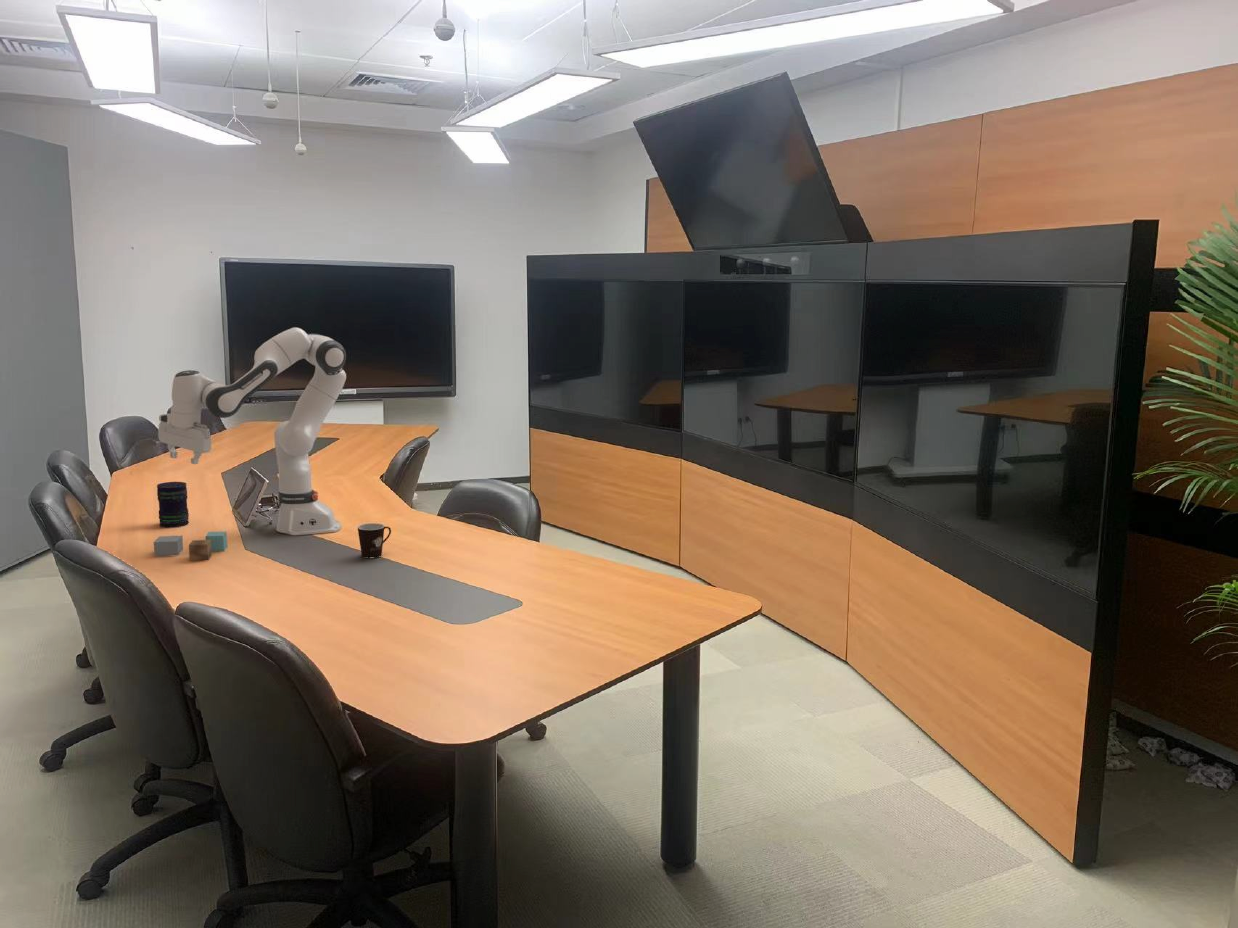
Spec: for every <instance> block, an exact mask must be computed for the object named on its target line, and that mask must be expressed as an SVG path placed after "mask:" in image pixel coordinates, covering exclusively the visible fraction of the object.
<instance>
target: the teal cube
mask: <svg viewBox="0 0 1238 928" xmlns="http://www.w3.org/2000/svg"><path fill="white" fill-rule="evenodd" d="M227 535H228V533H227V531H223V530H221V531H208V532H207V533H206V535H205V540H211V552H212V553H215V552H216V553H217V552H219V553H220V551H222V552H225V551H226V549H227V548H228V537H227Z"/></svg>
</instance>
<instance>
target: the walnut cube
mask: <svg viewBox="0 0 1238 928" xmlns="http://www.w3.org/2000/svg"><path fill="white" fill-rule="evenodd" d="M188 553H189V554H188V556H189V557H188V558H189V562H204V561H203V560H208V561H209V560H210V559H211V558H212V556H213V555H212V553H213V552H211V540H206V539H195V540H191V542H189V544H188Z"/></svg>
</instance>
